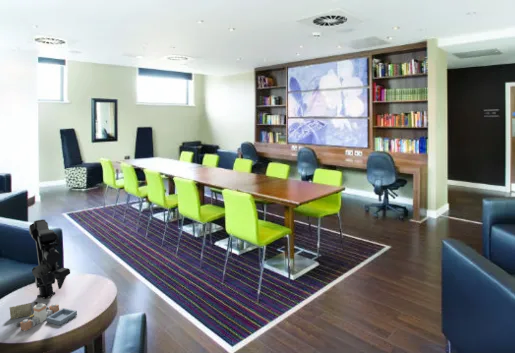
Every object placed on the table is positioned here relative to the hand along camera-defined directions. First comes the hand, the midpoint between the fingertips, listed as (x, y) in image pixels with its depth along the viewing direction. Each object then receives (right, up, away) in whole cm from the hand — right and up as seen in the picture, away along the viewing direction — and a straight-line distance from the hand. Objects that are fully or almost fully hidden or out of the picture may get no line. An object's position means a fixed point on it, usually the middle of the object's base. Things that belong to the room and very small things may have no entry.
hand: (52, 287), depth 180 cm
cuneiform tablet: (-13, -14, -1) cm, 19 cm away
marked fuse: (-3, -14, -5) cm, 15 cm away
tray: (+7, -14, -4) cm, 16 cm away
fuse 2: (0, -13, +2) cm, 13 cm away
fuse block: (-5, -14, -4) cm, 15 cm away
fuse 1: (-5, -15, -12) cm, 20 cm away
